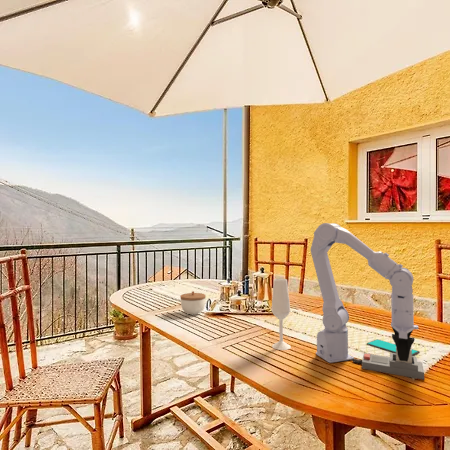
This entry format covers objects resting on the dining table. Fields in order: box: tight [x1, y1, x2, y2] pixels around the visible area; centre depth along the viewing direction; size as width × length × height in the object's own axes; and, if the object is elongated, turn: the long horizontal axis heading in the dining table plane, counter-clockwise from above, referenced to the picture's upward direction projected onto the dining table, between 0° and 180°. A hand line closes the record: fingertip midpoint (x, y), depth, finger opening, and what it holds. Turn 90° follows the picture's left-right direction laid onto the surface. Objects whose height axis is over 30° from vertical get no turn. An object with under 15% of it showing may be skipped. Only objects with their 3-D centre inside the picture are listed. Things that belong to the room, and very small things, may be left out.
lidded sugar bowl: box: [180, 290, 207, 315], centre depth 162 cm, size 13×13×11 cm
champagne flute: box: [271, 278, 291, 351], centre depth 116 cm, size 7×7×24 cm
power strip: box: [352, 352, 425, 381], centre depth 97 cm, size 19×8×4 cm, turn 62°
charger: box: [396, 347, 413, 364], centre depth 95 cm, size 4×4×5 cm
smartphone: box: [366, 339, 420, 356], centre depth 113 cm, size 7×1×15 cm
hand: (403, 355), depth 95 cm, fingers open, 7 cm apart
